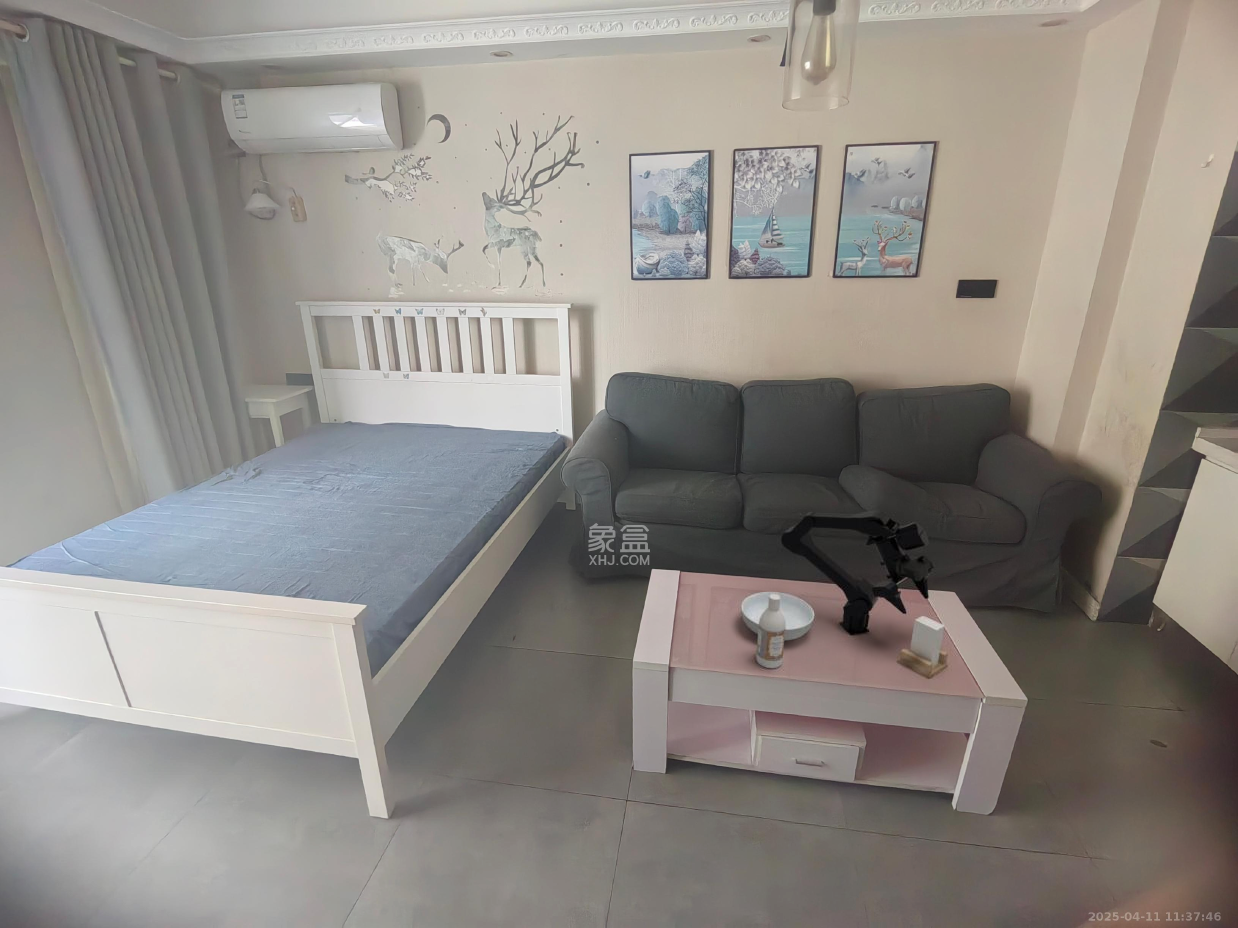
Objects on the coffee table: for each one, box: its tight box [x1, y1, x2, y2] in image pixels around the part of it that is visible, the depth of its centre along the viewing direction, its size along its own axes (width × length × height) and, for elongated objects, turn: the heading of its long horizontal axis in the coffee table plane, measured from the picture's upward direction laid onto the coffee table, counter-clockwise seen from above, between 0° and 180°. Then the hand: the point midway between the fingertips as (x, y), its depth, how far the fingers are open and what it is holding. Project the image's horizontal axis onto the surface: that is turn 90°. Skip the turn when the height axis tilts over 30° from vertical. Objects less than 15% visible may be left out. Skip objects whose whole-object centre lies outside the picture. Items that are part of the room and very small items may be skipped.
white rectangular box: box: [909, 615, 946, 668], centre depth 164 cm, size 6×4×12 cm, turn 35°
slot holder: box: [896, 648, 949, 679], centre depth 166 cm, size 9×9×4 cm
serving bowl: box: [740, 591, 815, 641], centre depth 181 cm, size 21×21×7 cm
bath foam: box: [755, 594, 786, 669], centre depth 164 cm, size 7×7×20 cm
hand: (916, 605), depth 170 cm, fingers open, 9 cm apart
